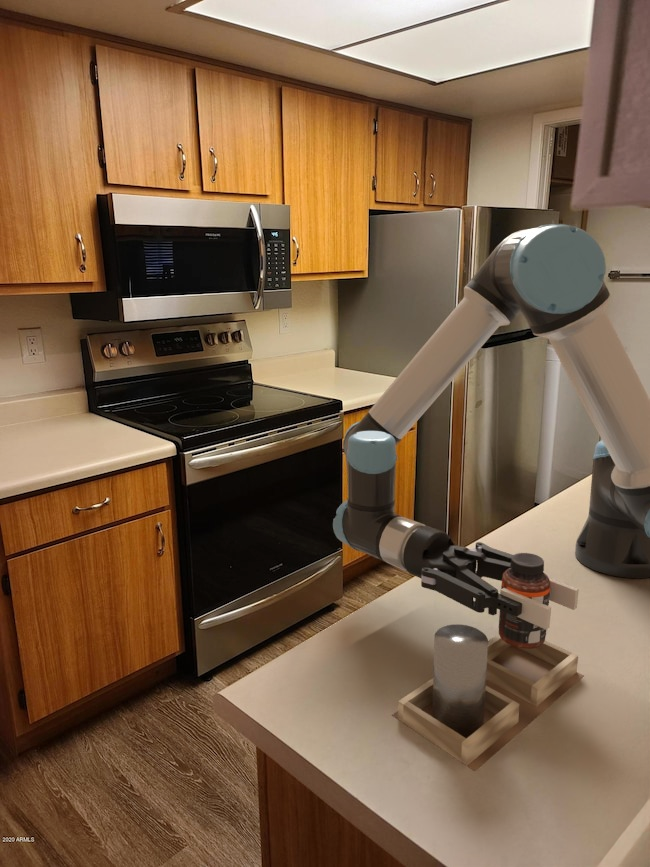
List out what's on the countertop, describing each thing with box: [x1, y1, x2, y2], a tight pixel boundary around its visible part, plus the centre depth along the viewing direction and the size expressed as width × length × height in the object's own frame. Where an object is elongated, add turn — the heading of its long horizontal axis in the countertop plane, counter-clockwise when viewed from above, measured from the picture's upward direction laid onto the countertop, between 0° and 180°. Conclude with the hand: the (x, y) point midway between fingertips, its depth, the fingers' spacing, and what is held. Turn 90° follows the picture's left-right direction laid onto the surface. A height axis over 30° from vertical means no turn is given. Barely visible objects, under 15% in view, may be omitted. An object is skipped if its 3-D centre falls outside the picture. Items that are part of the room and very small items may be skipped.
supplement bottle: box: [498, 552, 550, 649], centre depth 82 cm, size 6×6×11 cm
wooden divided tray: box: [391, 633, 585, 772], centre depth 80 cm, size 24×12×4 cm, turn 132°
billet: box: [432, 623, 489, 738], centre depth 74 cm, size 6×6×11 cm
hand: (562, 608), depth 78 cm, fingers closed on supplement bottle, 6 cm apart
